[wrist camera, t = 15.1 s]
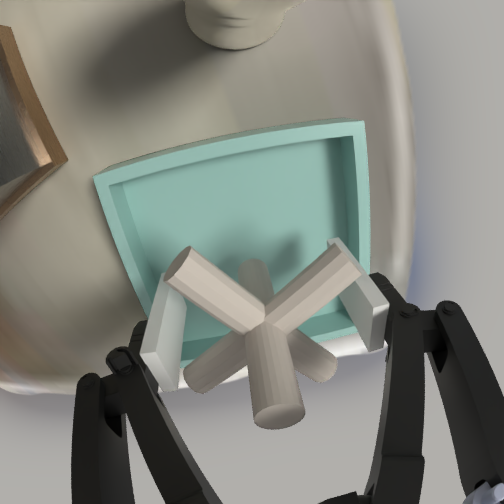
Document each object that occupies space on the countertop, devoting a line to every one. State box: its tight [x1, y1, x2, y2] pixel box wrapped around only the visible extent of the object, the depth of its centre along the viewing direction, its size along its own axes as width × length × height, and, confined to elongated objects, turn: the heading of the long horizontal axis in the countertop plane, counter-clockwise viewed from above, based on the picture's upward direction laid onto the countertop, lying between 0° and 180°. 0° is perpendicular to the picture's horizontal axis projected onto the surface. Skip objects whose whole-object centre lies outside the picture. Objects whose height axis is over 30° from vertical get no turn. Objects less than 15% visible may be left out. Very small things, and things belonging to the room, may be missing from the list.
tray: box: [93, 118, 370, 368], centre depth 20 cm, size 16×16×3 cm
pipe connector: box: [163, 242, 362, 430], centre depth 14 cm, size 10×10×10 cm
